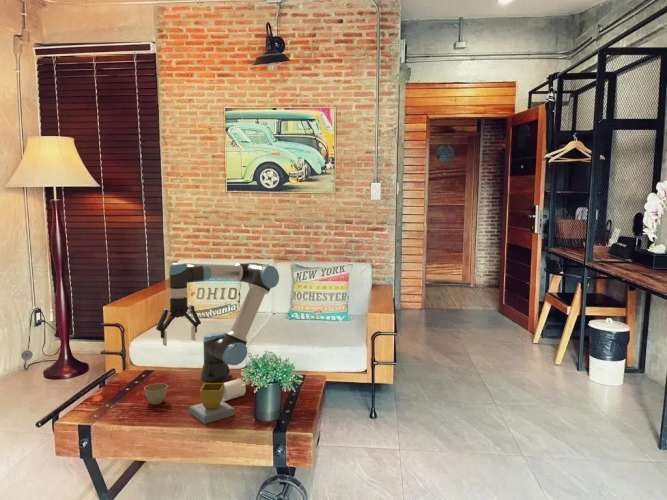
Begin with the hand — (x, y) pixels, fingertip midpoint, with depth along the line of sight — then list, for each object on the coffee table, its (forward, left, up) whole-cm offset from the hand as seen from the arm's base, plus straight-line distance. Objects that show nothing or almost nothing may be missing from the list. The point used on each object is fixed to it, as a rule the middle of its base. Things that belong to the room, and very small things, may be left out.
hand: (179, 342), depth 220 cm
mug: (-19, +12, -27) cm, 35 cm away
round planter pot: (+10, -3, -27) cm, 29 cm away
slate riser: (-4, +24, -27) cm, 36 cm away
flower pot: (-4, +24, -24) cm, 34 cm away
